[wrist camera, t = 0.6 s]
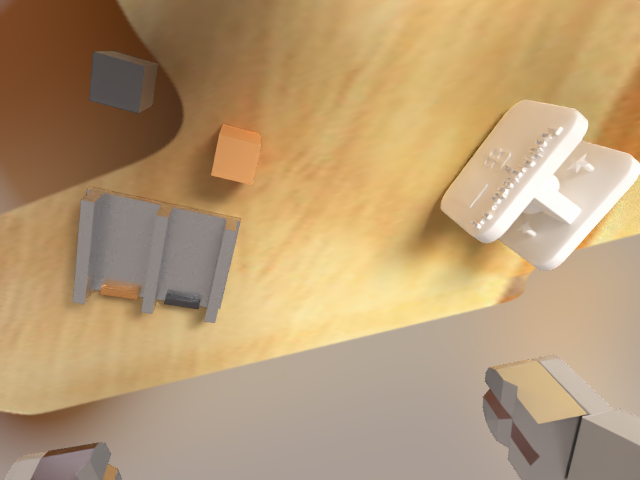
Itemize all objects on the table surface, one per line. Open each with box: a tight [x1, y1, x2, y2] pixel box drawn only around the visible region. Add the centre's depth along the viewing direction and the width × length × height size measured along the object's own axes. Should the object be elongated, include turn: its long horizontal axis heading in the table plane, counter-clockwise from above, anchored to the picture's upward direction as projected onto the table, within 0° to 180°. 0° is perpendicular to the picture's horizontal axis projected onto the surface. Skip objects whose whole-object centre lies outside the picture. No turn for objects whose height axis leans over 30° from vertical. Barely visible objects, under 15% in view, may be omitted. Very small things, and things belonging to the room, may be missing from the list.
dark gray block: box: [89, 51, 158, 113], centre depth 38 cm, size 4×4×6 cm
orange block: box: [211, 124, 262, 185], centre depth 42 cm, size 4×4×6 cm
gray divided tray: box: [73, 187, 241, 323], centre depth 47 cm, size 12×16×4 cm
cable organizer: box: [440, 100, 640, 271], centre depth 46 cm, size 15×11×12 cm
